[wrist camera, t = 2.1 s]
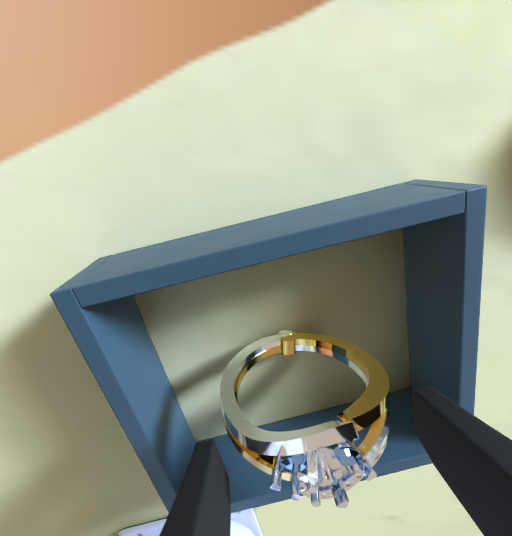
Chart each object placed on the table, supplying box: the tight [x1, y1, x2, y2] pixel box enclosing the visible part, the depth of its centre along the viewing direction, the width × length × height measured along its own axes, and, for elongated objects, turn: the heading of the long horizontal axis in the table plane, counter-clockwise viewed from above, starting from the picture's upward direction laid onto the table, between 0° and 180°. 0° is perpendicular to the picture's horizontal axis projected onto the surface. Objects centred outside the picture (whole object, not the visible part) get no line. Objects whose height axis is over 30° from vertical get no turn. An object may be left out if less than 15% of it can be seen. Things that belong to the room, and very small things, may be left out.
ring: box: [220, 330, 390, 508], centre depth 12 cm, size 7×3×8 cm, turn 93°
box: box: [50, 180, 487, 513], centre depth 14 cm, size 16×14×4 cm
